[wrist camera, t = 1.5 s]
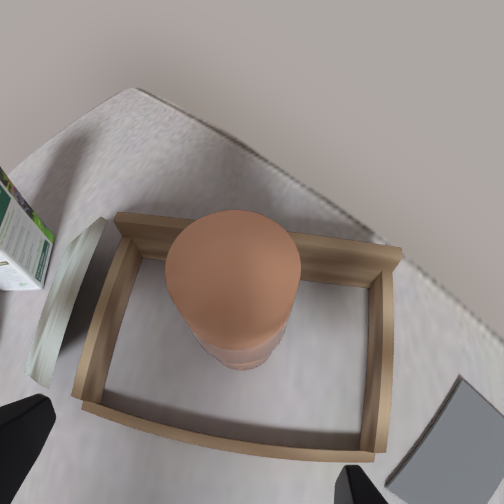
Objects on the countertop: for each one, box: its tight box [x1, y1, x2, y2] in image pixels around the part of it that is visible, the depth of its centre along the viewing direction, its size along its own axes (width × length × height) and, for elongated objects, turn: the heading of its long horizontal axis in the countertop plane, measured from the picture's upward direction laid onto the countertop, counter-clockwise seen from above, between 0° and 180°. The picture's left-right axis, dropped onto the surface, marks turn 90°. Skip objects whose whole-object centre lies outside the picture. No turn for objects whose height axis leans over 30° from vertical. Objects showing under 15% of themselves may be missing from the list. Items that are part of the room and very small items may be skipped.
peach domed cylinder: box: [165, 210, 301, 370], centre depth 17 cm, size 5×5×11 cm
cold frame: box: [24, 212, 403, 462], centre depth 20 cm, size 14×27×6 cm, turn 81°
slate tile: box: [385, 380, 504, 504], centre depth 16 cm, size 10×10×1 cm
